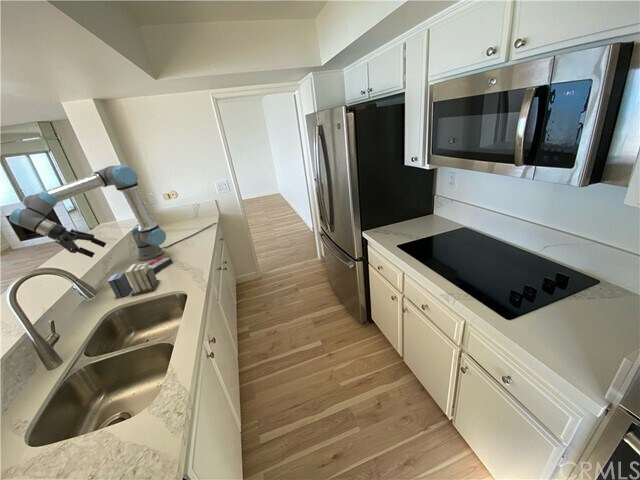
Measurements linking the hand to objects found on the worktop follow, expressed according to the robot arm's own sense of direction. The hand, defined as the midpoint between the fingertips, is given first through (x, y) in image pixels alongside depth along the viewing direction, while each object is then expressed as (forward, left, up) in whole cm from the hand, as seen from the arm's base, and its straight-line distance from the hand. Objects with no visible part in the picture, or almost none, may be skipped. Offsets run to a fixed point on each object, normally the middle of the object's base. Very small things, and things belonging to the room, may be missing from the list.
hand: (99, 250), depth 142 cm
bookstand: (-8, +16, -25) cm, 31 cm away
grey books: (0, +9, -25) cm, 27 cm away
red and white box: (-24, -4, -25) cm, 35 cm away
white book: (-6, +15, -24) cm, 29 cm away
